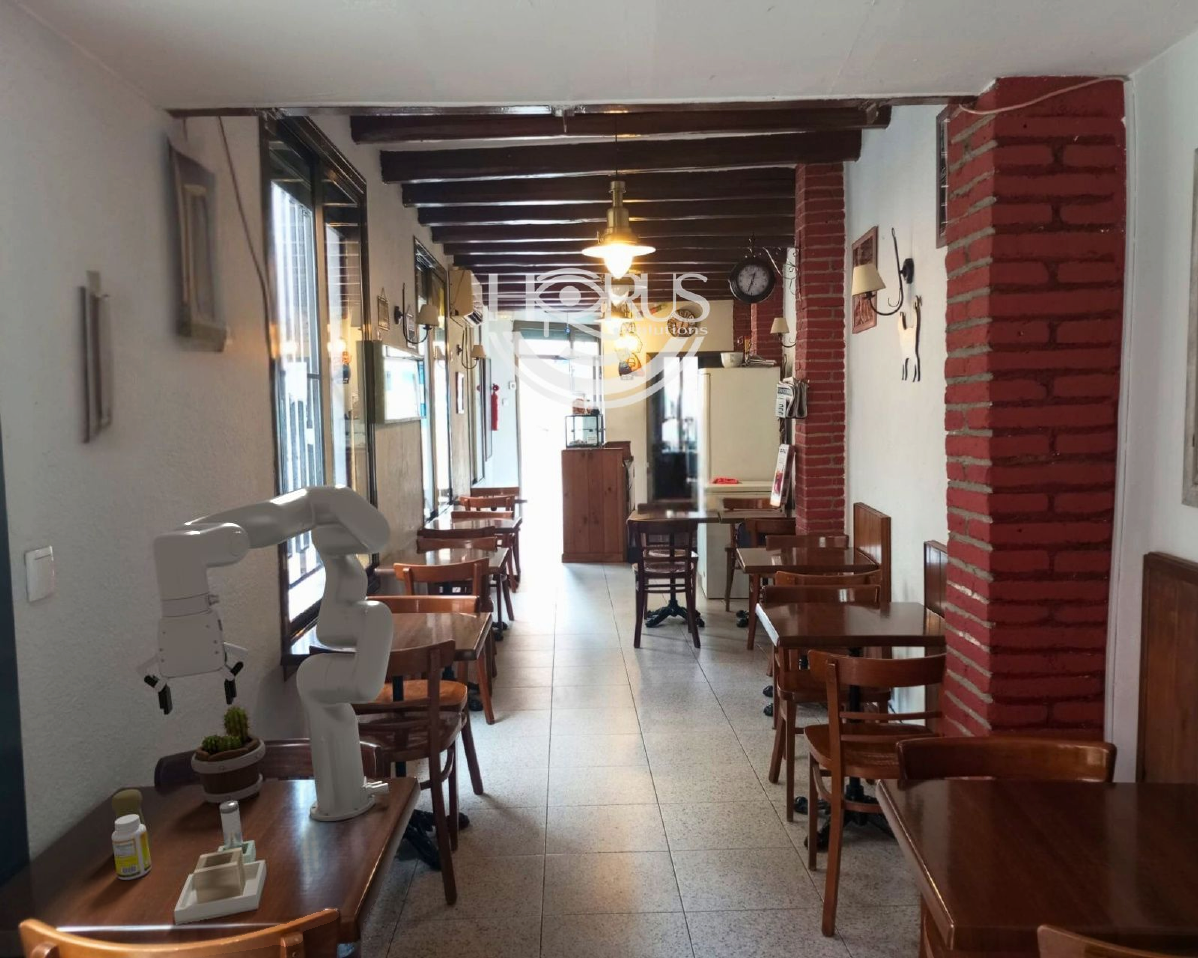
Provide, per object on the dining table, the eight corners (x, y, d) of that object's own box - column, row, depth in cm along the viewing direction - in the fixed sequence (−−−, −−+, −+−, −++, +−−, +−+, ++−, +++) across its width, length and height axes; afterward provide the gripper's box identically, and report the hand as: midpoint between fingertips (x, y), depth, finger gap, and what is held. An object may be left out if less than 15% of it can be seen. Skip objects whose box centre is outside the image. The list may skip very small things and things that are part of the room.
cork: (136, 855, 174) (128, 798, 174) (108, 854, 176) (100, 798, 175) (157, 839, 180) (150, 785, 179) (130, 839, 182) (123, 785, 181)
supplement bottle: (143, 862, 171) (136, 809, 170) (157, 870, 167) (149, 815, 166) (112, 876, 167) (104, 821, 166) (125, 884, 163) (117, 828, 162)
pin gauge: (246, 857, 168) (239, 798, 167) (244, 865, 165) (236, 805, 164) (228, 860, 167) (220, 802, 166) (226, 868, 164) (218, 809, 163)
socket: (256, 854, 170) (254, 839, 170) (251, 869, 164) (249, 854, 164) (221, 861, 168) (219, 846, 168) (215, 876, 163) (213, 861, 162)
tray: (266, 872, 162) (264, 859, 162) (257, 908, 150) (256, 894, 150) (190, 887, 160) (189, 874, 159) (175, 925, 148) (173, 911, 147)
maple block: (246, 880, 159) (241, 846, 159) (241, 899, 153) (236, 864, 152) (205, 888, 157) (200, 854, 157) (198, 908, 151) (193, 873, 151)
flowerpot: (234, 815, 188) (221, 720, 187) (181, 807, 195) (168, 715, 193) (286, 786, 201) (274, 696, 200) (234, 779, 208) (223, 693, 206)
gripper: (244, 594, 158) (257, 692, 159) (134, 609, 154) (148, 709, 155) (238, 602, 151) (251, 705, 152) (123, 618, 147) (137, 723, 148)
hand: (199, 707), depth 154 cm, fingers open, 9 cm apart
